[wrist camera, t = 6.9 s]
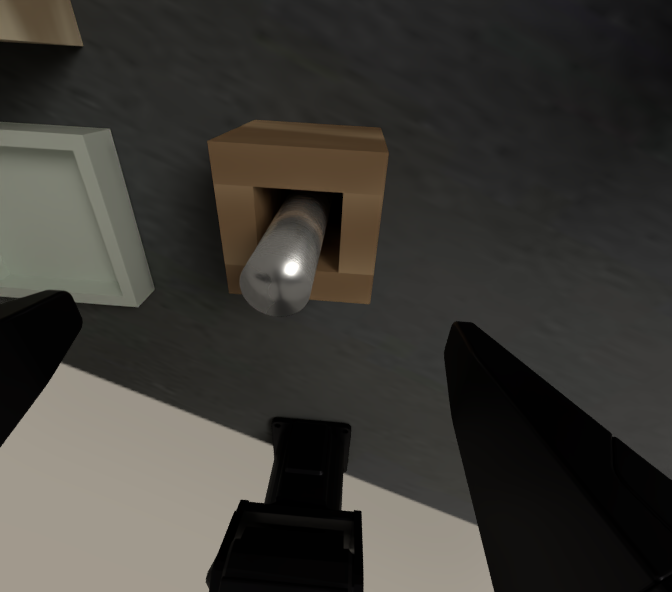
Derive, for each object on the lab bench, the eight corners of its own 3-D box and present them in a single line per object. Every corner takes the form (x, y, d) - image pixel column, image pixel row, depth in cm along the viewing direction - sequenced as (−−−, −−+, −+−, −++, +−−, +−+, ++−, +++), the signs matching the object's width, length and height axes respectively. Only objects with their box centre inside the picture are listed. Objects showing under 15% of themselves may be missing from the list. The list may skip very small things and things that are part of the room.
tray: (155, 289, 22) (138, 307, 21) (13, 278, 22) (-15, 295, 21) (109, 128, 17) (82, 134, 15) (-74, 116, 17) (-120, 121, 16)
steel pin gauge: (333, 207, 19) (310, 319, 10) (296, 204, 19) (243, 313, 10) (336, 168, 17) (311, 258, 9) (296, 166, 17) (236, 252, 9)
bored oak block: (368, 244, 20) (369, 304, 15) (263, 236, 20) (229, 293, 15) (380, 127, 16) (388, 152, 11) (254, 119, 16) (207, 141, 11)
